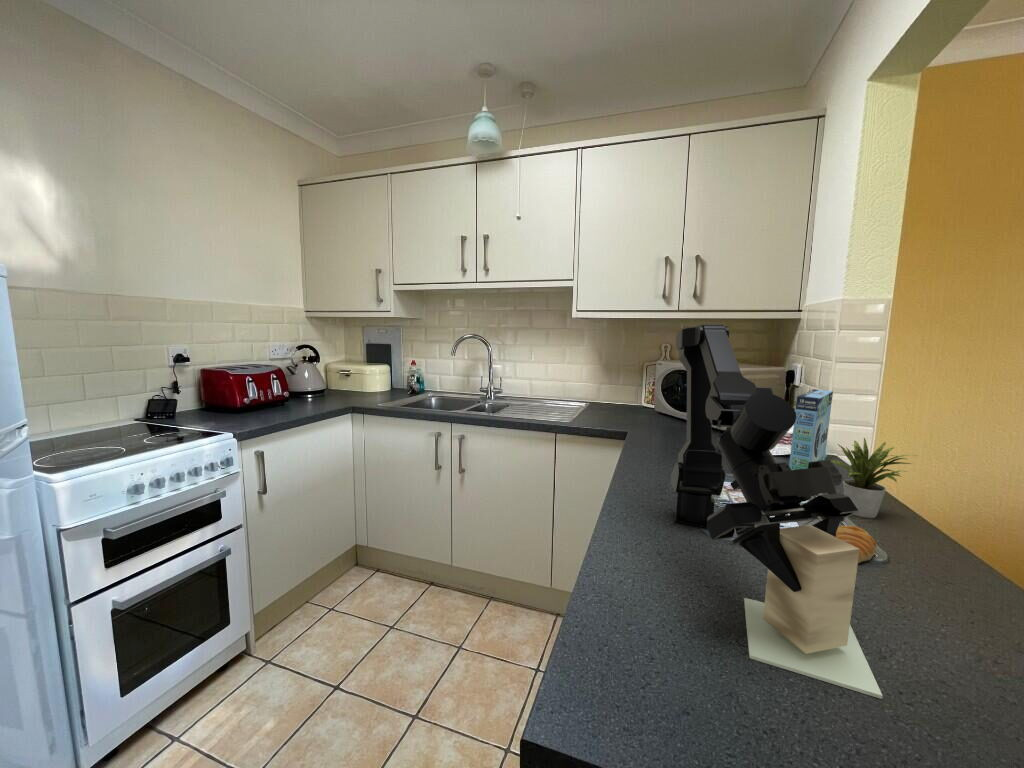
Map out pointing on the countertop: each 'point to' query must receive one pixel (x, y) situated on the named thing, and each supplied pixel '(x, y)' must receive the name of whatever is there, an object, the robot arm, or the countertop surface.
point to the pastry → (858, 541)
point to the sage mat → (808, 655)
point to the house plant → (867, 477)
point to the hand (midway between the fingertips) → (819, 587)
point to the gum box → (810, 428)
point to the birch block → (813, 590)
